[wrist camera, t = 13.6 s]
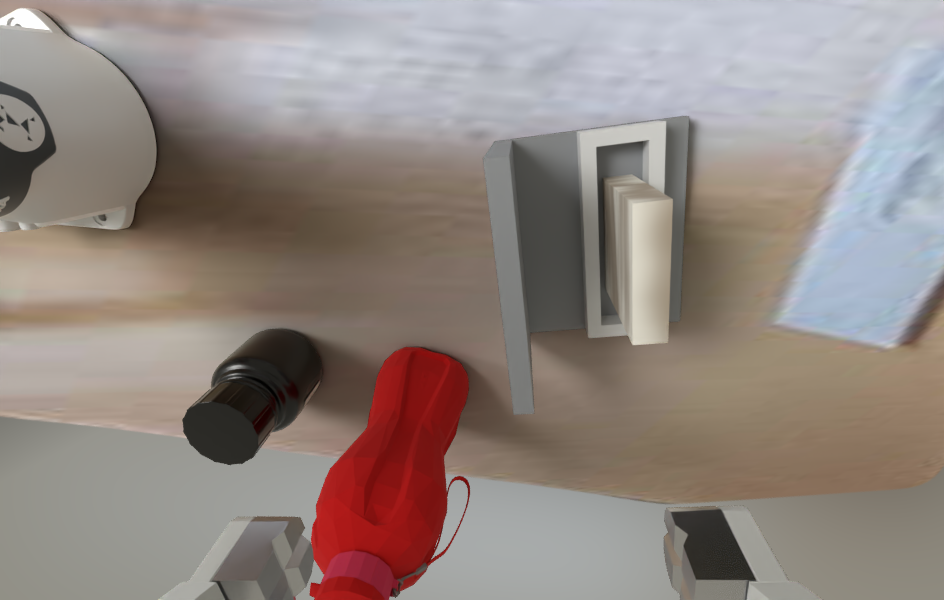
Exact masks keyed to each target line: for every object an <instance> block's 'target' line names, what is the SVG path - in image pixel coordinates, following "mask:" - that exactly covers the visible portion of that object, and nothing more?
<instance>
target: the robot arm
mask: <svg viewBox="0 0 944 600" xmlns="http://www.w3.org/2000/svg"><path fill="white" fill-rule="evenodd" d="M156 154H157V151H156V139H155V133H154V129H153V125H152V122H151V119H150V116H149V114H148V111H147V109H146V107H145V105H144V103H143V101H142V99H141V98H140V96H139V94H138V93H137V91H136V90H135V88H134V87H133V85H132V84H131V83H130V81H129V80H128V79H127V78H126V77H125V75H124V74H123V73H122V72H121V71H120V70H119V69H118V68H117V67H116V66H115V65H114V64H112V63H111V62H110V61H109V60H108V59H106V58H105V57H104V56H102V55H101V54H99V53H98V52H96V51H94V50H93V49H91V48H89V47H87V46H85V45H83V44H81V43H79V42H77V41H75V40H73V39H72V38H70V37H69V36H67V35H66V34H65V33H64V32H63V31H62V30H61V29H60V28H59V27H58V26H57V25H56V24H55V23H54V22H53V21H52V20H51V19H50V18H49V17H48V16H46V15H45V14H44V13H42V12H41V11H39V10H37V9H31V8H19V9H17V10H15V11H13V12H11V13H9V14H8V15H6V16H4V17H2V18H0V232H7V231H15V230H20V229H22V230H34V229H39V228H41V227H45V226H51V225H67V226H78V227H89V228H101V229H112V230H119V229H124V228H128V227H129V226H130V225H131V223H132V221H133V217H134V212H135V204H136V201H137V199H138V198H139V196H140V195H141V194H142V193H143V191H144V190H145V189H146V187H147V186H148V184H149V182H150V180H151V178H152V176H153V173H154V169H155V165H156ZM104 214H105V215H106V217H107V218H106V217H105V215H104ZM664 521H665V524H666V527H667V530H668V533H667V534H666V535H665V536H664V554H665V562H666V566H667V571H668V575H669V578H670V581H671V585H672V587H673V588H674V589H675V590H676V591H677V592H678V593H679V594H680V600H822V599H821V598H820V597H818V596H817V595H816V594H814V593H813V592H812V591H810V590H809V589H808V588H806V587H805V586H804V585H802V584H801V583H800V582H793V581H789V579H788V577H787V575H786V574H785V572H784V570H783V569H782V567H781V565H780V563H779V562H778V560H777V558H776V556H775V555H774V553H773V551H772V549H771V548H770V546H769V544H768V542H767V541H766V539H765V537H764V536H763V534H762V532H761V530H760V529H759V527H758V525H757V523H756V522H755V520H754V518H753V516H752V515H751V513H750V511H749V510H748V509H747V508H746V507H745V506H718V507H716V506H705V507H676V508H666V510H665V520H664ZM304 529H305V527H304V524H303V522H302V520H301V518H300V517H259V516H257V517H236V518H235V519H233V520H232V521H231V522H230V523H229V524H228V526H227V527H226V528H225V530H224V531H223V533H222V534H221V536H220V537H219V538H218V540H217V541H216V543H215V544H214V546H213V547H212V549H211V550H210V551H209V553H208V554H207V556H206V557H205V559H204V560H203V562H202V563H201V564H200V566H199V567H198V569H197V570H196V571H195V573H194V574H193V576H192V577H191V579H190V580H189V581H188V582H181V583H180V584H179V585H177V586H176V587H175V588H173V589H172V590H171V591H169V592H168V593H166V594H165V595H164V596H162V597H161V598H160V599H158V600H296V599H295V596H296V595H298V594H299V593H300V592H301V591H302V590H303V589H304V588H305V587H306V586H307V583H308V581H309V578H310V576H311V573H312V567H313V562H314V555H313V548H312V545H311V543H310V541H308V540H307V539H306V538H305V537H304V536H302V533H303V531H304Z"/></svg>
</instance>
